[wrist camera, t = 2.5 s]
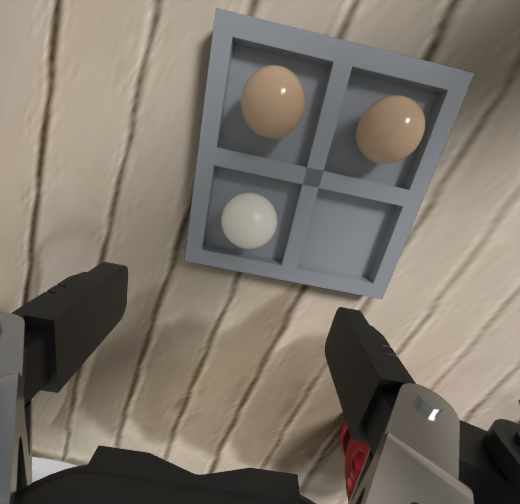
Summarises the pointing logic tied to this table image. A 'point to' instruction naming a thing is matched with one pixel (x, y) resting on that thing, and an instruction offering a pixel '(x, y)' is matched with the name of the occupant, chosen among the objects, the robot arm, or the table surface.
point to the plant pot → (352, 458)
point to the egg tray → (315, 156)
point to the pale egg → (249, 220)
